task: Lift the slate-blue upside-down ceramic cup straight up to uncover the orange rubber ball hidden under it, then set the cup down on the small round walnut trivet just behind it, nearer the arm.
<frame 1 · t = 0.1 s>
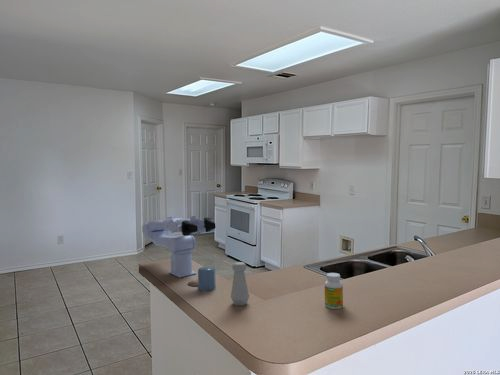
hand: (205, 227, 130), 22 cm above the worktop, tool horizontal, fingers open, 7 cm apart
supplement bottle: (333, 306, 107), on the worktop
cup: (207, 287, 127), on the worktop
salt shaker: (240, 304, 111), on the worktop
trivet: (197, 283, 133), on the worktop
ball: (207, 283, 127), point 2 cm above the worktop
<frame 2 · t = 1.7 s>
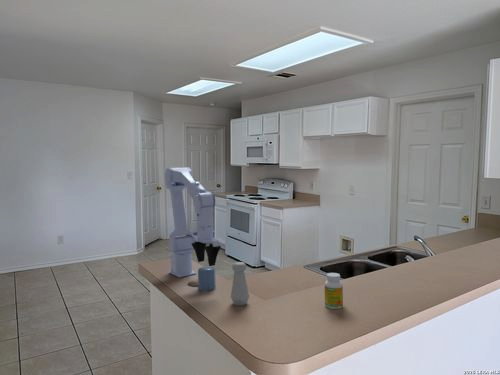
hand: (206, 263, 127), 9 cm above the worktop, tool pointing down, fingers open, 7 cm apart
nothing on the worktop moved.
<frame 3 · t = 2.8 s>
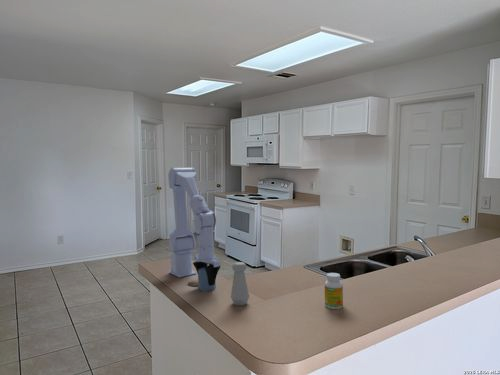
hand: (207, 282, 127), 2 cm above the worktop, tool pointing down, fingers closed on cup, 6 cm apart
cup: (207, 287, 127), on the worktop, touching gripper
everything else where it was.
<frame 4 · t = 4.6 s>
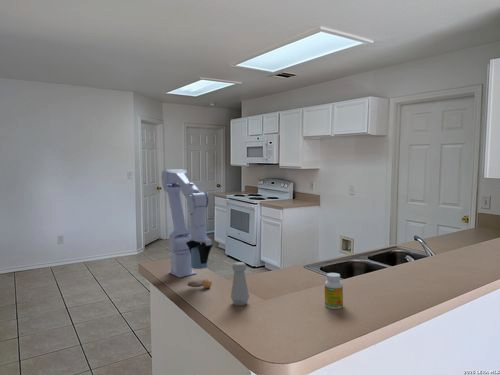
hand: (199, 261, 131), 9 cm above the worktop, tool pointing down, fingers closed on cup, 6 cm apart
cup: (199, 266, 131), point 7 cm above the worktop, touching gripper
everything else where it was.
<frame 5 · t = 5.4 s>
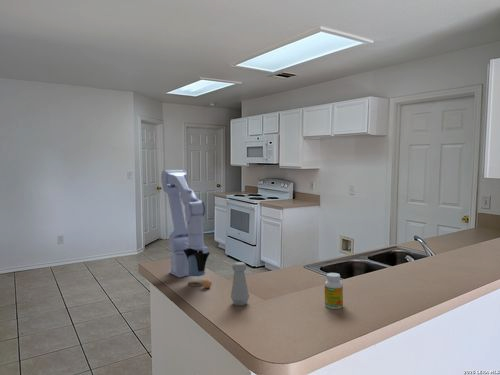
hand: (197, 269, 132), 5 cm above the worktop, tool pointing down, fingers closed on cup, 6 cm apart
cup: (197, 274, 132), point 4 cm above the worktop, touching gripper
everything else where it was.
when the fingers open (4 cm above the worktop, at t = 6.3 s): cup drops 2 cm, resting on trivet.
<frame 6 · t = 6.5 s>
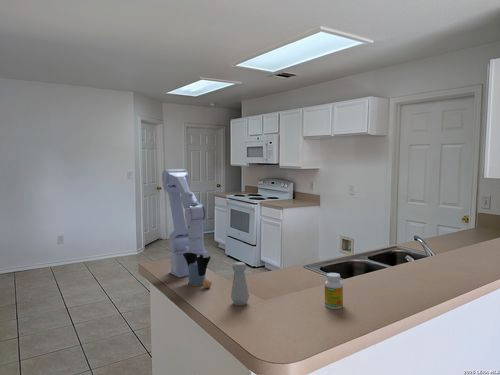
hand: (197, 273, 132), 4 cm above the worktop, tool pointing down, fingers open, 7 cm apart
cup: (197, 282, 133), resting on trivet
everything else where it was.
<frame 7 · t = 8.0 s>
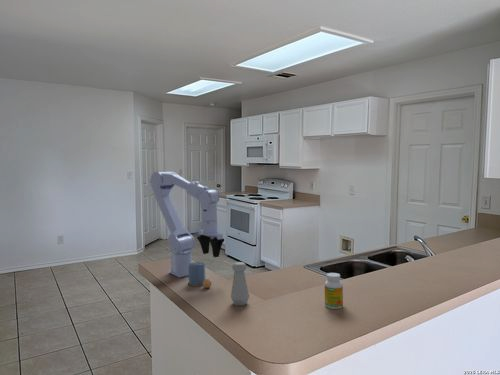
hand: (210, 255, 137), 9 cm above the worktop, tool pointing down, fingers open, 7 cm apart
nothing on the worktop moved.
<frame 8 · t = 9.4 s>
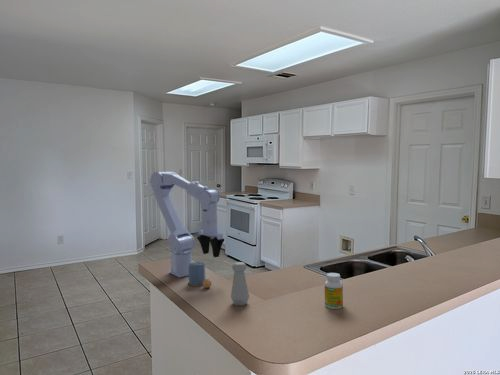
hand: (211, 255, 137), 9 cm above the worktop, tool pointing down, fingers open, 7 cm apart
nothing on the worktop moved.
at the end: cup 0.0 cm off-centre on the trivet, point 0.4 cm above the trivet's base; cup tilted 0° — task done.
